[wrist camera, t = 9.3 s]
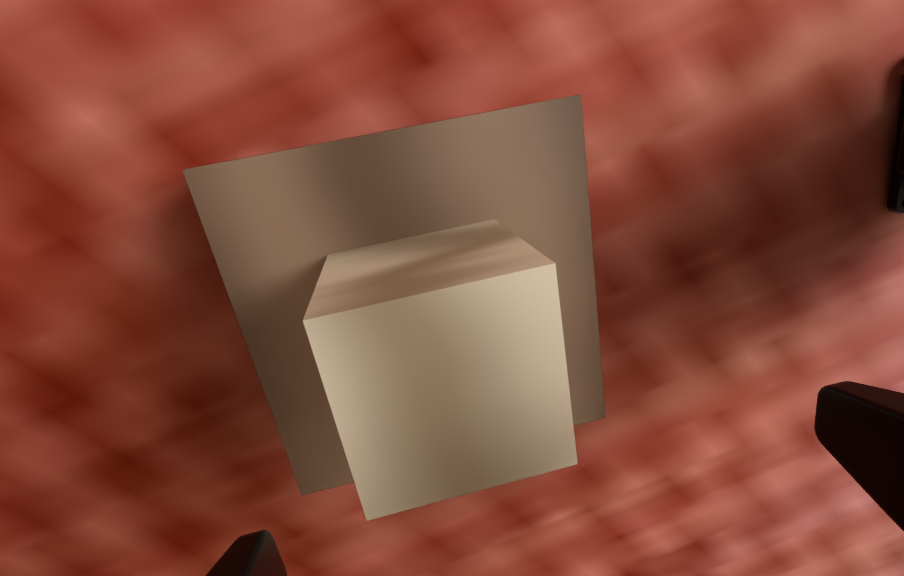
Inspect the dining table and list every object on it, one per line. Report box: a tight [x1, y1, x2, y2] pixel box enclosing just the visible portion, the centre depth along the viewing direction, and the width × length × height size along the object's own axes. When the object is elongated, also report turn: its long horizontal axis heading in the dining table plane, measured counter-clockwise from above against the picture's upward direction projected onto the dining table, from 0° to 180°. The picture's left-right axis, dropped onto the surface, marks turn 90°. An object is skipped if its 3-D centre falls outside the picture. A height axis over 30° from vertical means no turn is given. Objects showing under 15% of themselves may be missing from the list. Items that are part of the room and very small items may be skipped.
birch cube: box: [303, 219, 578, 521], centre depth 12 cm, size 5×5×5 cm
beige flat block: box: [182, 95, 606, 495], centre depth 16 cm, size 11×11×4 cm
